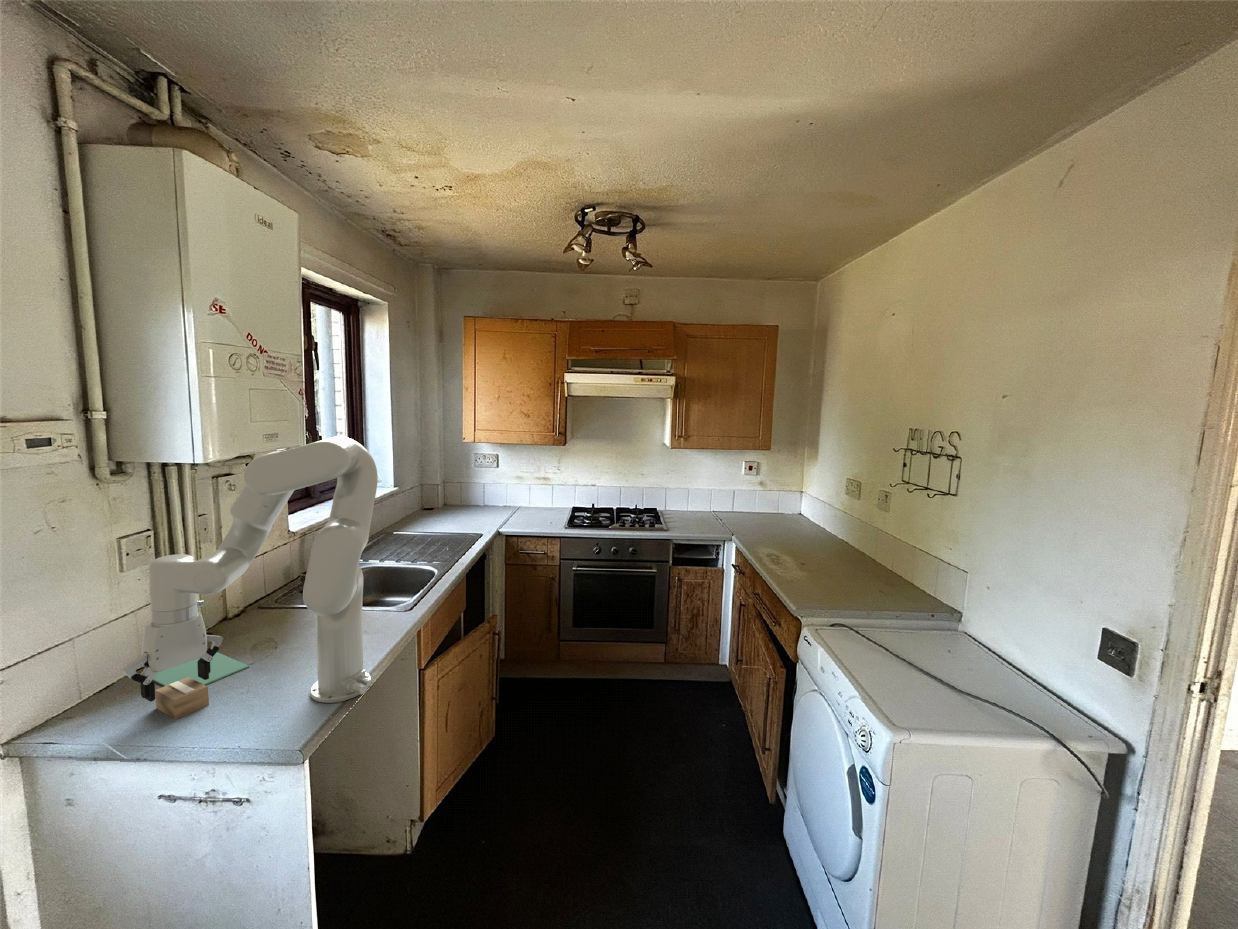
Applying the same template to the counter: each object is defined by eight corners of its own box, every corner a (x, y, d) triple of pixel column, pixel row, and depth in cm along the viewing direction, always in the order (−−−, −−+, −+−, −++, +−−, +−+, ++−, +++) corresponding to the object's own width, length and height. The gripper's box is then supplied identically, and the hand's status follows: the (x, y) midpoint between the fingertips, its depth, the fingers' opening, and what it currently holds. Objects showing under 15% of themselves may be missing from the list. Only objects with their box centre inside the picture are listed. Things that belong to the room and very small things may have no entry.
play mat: (248, 667, 126) (248, 665, 126) (181, 695, 114) (181, 693, 114) (213, 651, 133) (213, 650, 133) (146, 676, 120) (145, 675, 120)
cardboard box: (209, 705, 111) (207, 685, 110) (175, 720, 105) (174, 699, 105) (189, 695, 114) (188, 675, 114) (156, 709, 109) (154, 688, 108)
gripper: (211, 596, 116) (213, 666, 118) (112, 623, 101) (116, 702, 103) (230, 603, 113) (231, 675, 115) (131, 632, 98) (134, 714, 100)
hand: (177, 688), depth 109 cm, fingers open, 9 cm apart
